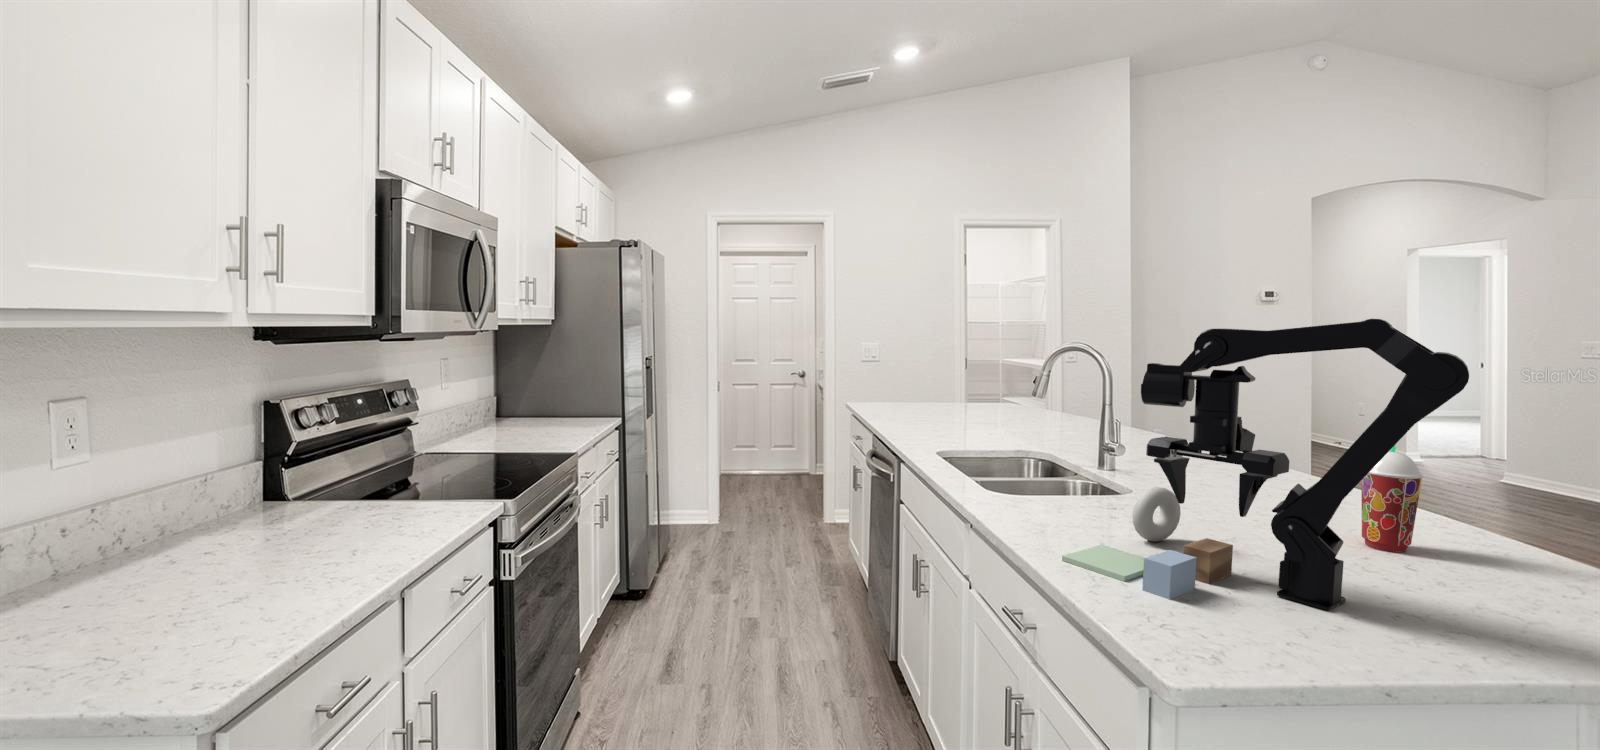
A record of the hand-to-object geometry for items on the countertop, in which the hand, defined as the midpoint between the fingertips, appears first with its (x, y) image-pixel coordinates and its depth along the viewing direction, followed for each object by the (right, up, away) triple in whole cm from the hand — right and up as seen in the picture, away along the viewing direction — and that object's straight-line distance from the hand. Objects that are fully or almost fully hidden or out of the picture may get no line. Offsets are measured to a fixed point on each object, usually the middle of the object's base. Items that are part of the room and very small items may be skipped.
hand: (1211, 509), depth 110 cm
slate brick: (-9, -11, -5) cm, 15 cm away
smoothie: (+40, -10, +16) cm, 44 cm away
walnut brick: (0, -11, +1) cm, 11 cm away
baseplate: (-13, -10, +6) cm, 17 cm away
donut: (0, -9, +18) cm, 20 cm away
